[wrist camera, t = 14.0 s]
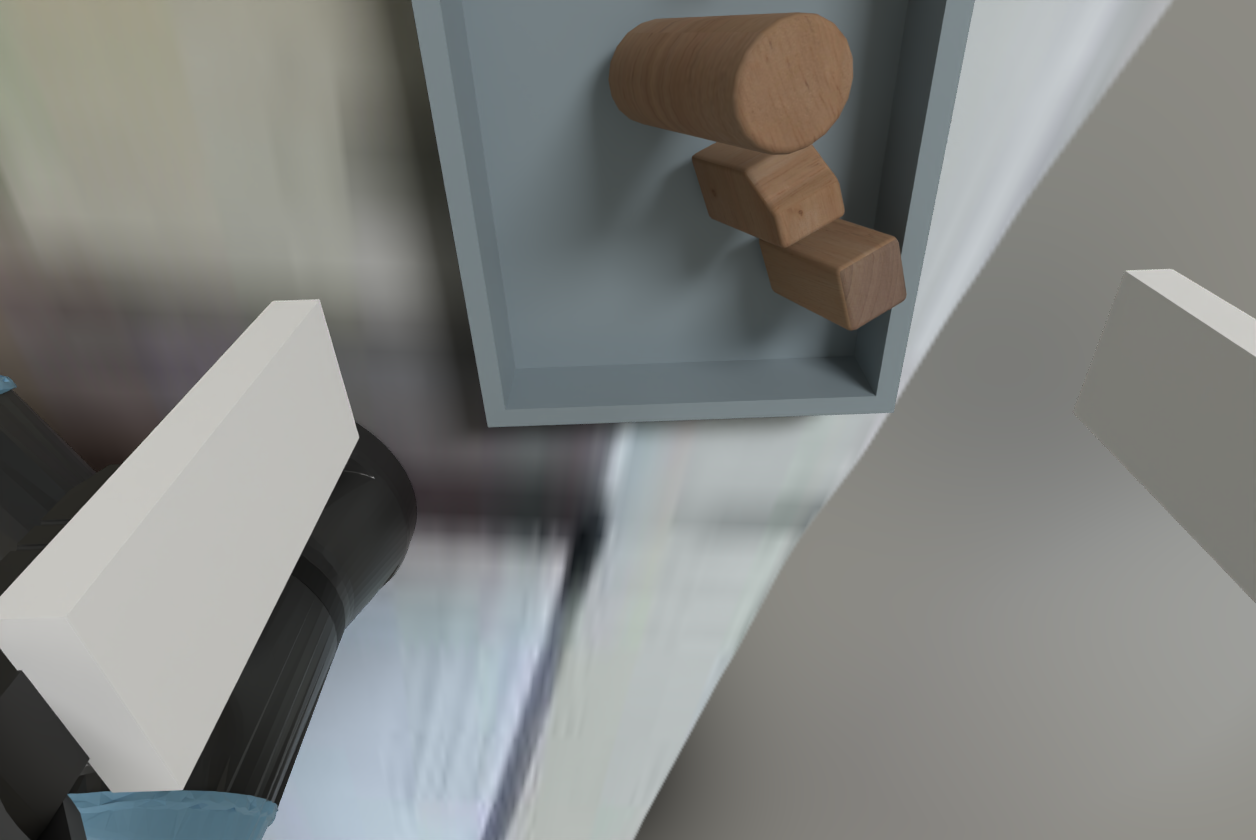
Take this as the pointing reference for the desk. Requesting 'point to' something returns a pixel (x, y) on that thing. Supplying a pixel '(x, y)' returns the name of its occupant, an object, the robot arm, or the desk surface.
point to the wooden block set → (765, 146)
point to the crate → (665, 215)
